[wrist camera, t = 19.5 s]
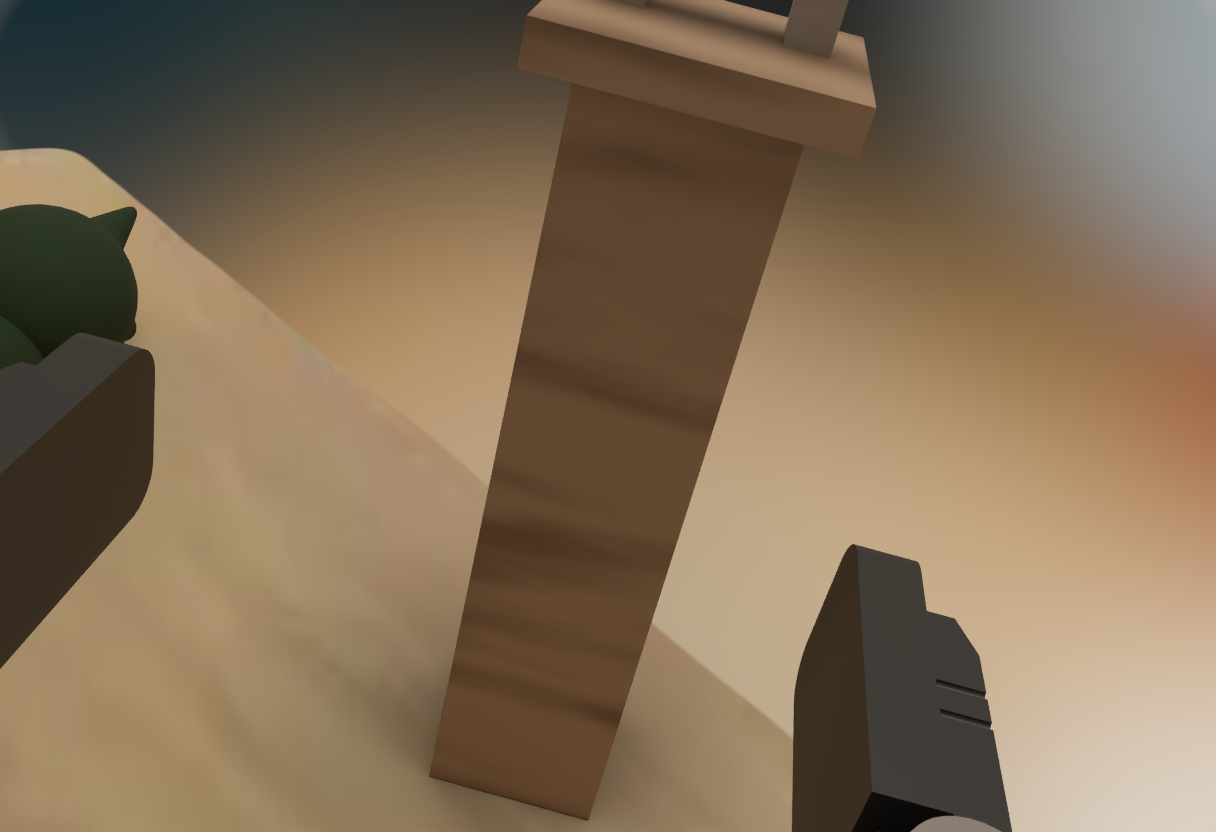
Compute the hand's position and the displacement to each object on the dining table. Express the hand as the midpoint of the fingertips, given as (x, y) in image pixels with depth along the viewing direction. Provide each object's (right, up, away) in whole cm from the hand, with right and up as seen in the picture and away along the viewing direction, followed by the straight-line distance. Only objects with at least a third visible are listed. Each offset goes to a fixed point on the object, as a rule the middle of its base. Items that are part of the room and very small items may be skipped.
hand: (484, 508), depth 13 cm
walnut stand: (-2, -13, +39) cm, 42 cm away
